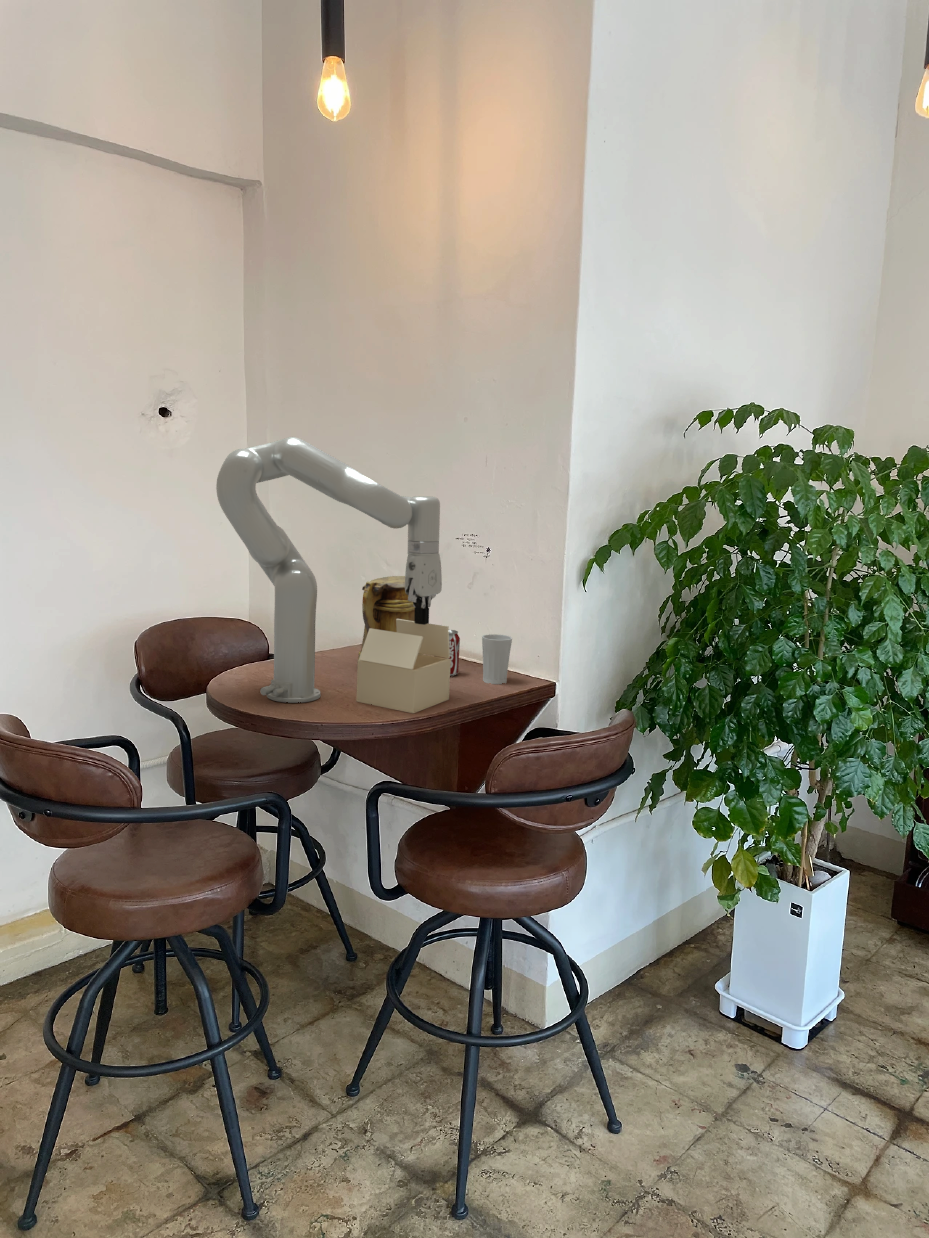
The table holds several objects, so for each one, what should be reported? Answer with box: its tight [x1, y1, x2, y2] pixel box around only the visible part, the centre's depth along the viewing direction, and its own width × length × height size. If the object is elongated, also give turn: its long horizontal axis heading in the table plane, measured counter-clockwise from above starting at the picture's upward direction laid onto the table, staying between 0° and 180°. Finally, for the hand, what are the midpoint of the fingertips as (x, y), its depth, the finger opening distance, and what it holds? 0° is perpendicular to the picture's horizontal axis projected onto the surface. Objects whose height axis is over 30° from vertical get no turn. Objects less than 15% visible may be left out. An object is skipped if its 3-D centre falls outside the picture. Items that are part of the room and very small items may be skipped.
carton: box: [356, 654, 451, 714], centre depth 214 cm, size 16×16×10 cm
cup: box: [481, 633, 513, 685], centre depth 238 cm, size 8×8×12 cm
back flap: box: [396, 619, 450, 658], centre depth 219 cm, size 8×15×1 cm
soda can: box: [435, 629, 461, 677], centre depth 243 cm, size 7×7×12 cm
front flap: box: [359, 628, 423, 670], centre depth 208 cm, size 8×15×1 cm
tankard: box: [356, 575, 420, 665], centre depth 247 cm, size 18×24×25 cm
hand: (421, 623), depth 218 cm, fingers closed
